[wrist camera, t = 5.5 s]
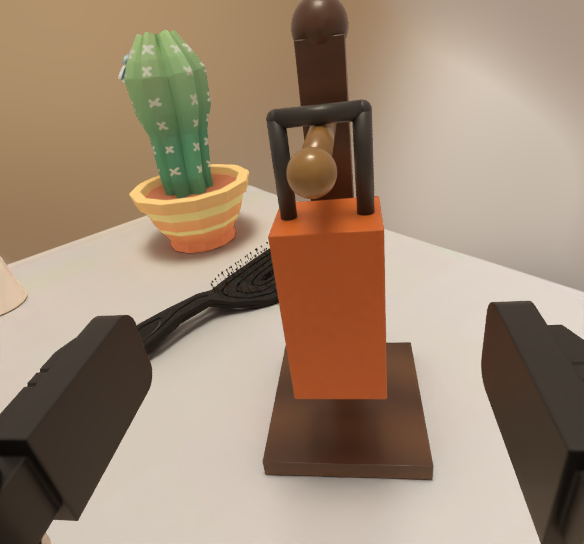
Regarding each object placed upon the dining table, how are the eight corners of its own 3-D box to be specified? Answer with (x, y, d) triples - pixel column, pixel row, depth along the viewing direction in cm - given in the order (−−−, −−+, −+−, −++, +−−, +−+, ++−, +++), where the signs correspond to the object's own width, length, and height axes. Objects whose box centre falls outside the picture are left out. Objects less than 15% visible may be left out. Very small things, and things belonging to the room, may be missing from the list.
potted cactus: (248, 207, 67) (215, 24, 55) (270, 247, 54) (233, 18, 42) (148, 229, 65) (89, 41, 52) (145, 276, 52) (66, 41, 39)
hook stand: (442, 533, 23) (496, -60, 10) (256, 524, 24) (108, 2, 12) (410, 353, 35) (417, -19, 22) (287, 355, 36) (230, 9, 24)
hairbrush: (82, 325, 39) (288, 217, 51) (98, 355, 41) (293, 244, 53) (117, 368, 33) (339, 235, 46) (134, 401, 35) (343, 264, 48)
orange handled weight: (387, 399, 23) (382, 106, 16) (294, 399, 24) (248, 120, 16) (382, 350, 26) (376, 90, 19) (301, 351, 27) (266, 102, 20)
